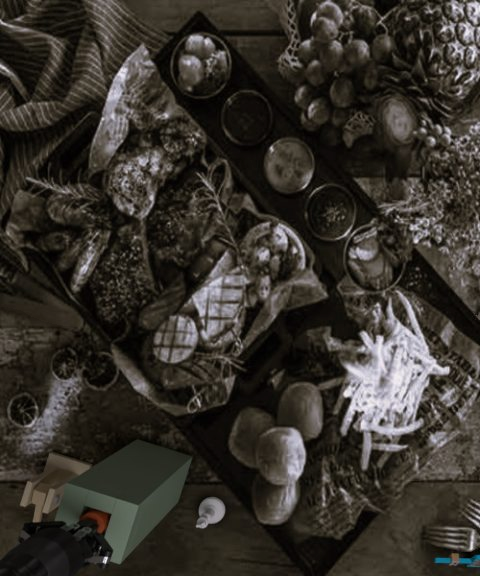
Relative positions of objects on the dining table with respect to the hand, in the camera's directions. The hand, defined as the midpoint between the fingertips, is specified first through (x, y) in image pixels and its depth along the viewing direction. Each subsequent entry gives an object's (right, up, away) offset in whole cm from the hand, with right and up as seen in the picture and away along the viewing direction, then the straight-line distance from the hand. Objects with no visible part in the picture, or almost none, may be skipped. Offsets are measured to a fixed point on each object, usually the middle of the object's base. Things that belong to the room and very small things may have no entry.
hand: (90, 525), depth 110 cm
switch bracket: (-18, -2, +34) cm, 38 cm away
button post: (0, 0, +34) cm, 34 cm away
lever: (-19, -6, +26) cm, 33 cm away
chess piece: (+10, -8, +34) cm, 36 cm away
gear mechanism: (+62, -12, +27) cm, 69 cm away
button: (0, 0, +3) cm, 3 cm away
